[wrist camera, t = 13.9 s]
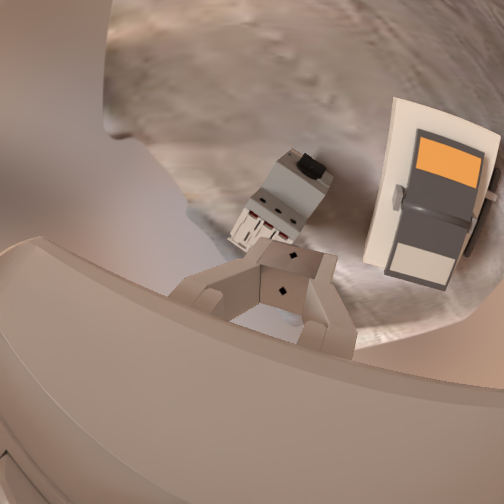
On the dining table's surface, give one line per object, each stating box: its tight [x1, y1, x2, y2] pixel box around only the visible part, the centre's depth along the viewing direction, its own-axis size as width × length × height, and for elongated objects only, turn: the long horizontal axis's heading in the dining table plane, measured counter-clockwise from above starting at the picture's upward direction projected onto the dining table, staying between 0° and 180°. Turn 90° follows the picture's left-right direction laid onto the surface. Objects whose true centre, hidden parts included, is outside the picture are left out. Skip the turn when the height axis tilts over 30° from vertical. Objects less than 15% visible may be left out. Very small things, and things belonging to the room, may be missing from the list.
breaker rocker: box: [384, 128, 485, 291], centre depth 29 cm, size 20×10×2 cm, turn 0°
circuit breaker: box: [228, 148, 334, 252], centre depth 40 cm, size 8×14×15 cm, turn 154°
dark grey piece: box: [464, 161, 501, 257], centre depth 32 cm, size 19×3×2 cm, turn 0°
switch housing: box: [363, 97, 501, 274], centre depth 33 cm, size 26×16×10 cm, turn 0°
